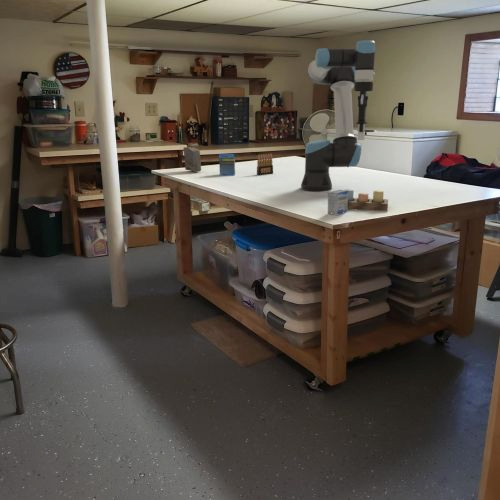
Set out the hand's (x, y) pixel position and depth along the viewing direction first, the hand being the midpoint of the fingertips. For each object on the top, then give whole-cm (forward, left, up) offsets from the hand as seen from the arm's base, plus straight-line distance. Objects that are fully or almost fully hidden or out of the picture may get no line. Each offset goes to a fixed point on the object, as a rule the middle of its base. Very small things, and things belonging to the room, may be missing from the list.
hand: (360, 139), depth 219 cm
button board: (+3, -13, -26) cm, 30 cm away
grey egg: (-3, -13, -25) cm, 28 cm away
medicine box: (-6, -24, -27) cm, 37 cm away
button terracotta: (+3, -13, -26) cm, 29 cm away
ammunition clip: (-58, +65, -27) cm, 91 cm away
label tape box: (-79, +59, -27) cm, 102 cm away
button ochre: (+9, -13, -25) cm, 29 cm away
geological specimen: (-103, +65, -27) cm, 125 cm away
